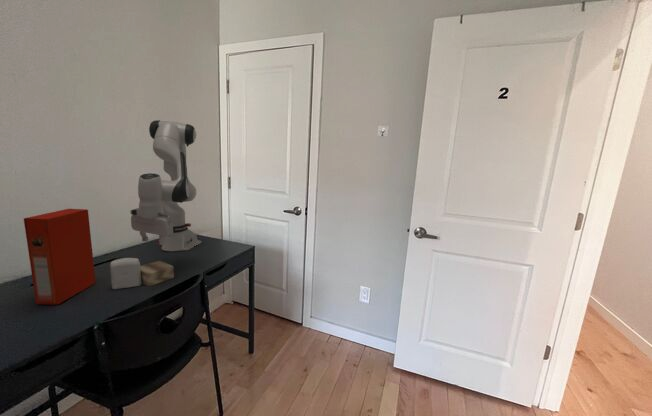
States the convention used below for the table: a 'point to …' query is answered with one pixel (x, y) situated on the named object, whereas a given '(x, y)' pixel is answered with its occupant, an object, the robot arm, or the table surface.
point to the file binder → (60, 254)
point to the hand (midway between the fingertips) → (153, 242)
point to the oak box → (156, 272)
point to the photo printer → (125, 273)
